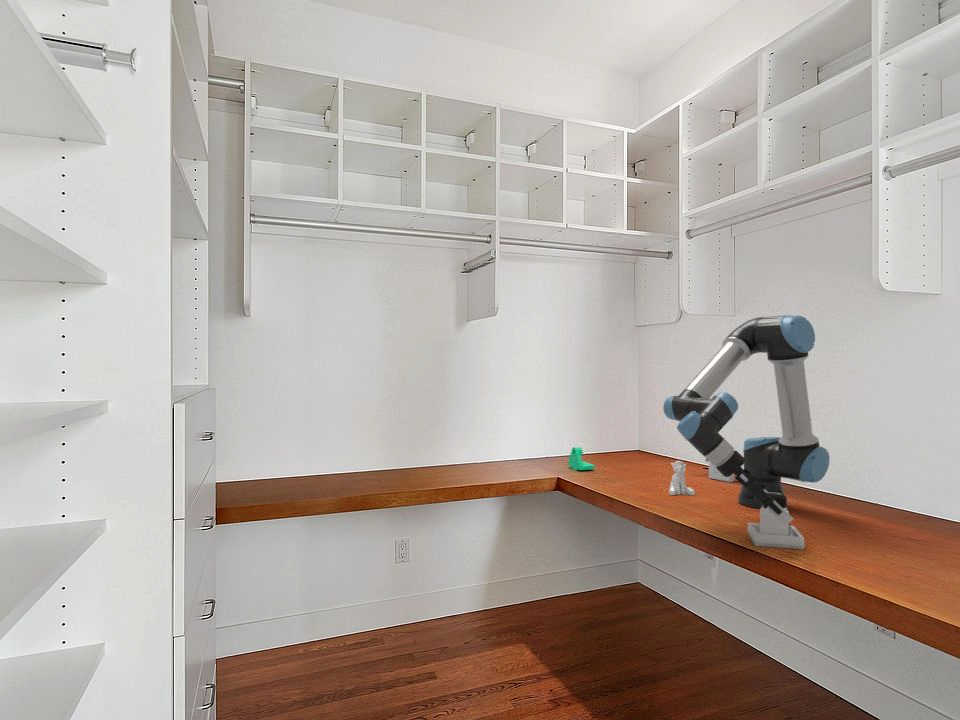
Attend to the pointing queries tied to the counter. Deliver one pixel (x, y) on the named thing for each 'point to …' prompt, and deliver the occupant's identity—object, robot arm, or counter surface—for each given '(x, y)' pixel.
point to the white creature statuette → (679, 481)
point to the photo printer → (718, 474)
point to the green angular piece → (578, 460)
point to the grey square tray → (776, 538)
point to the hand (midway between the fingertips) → (784, 515)
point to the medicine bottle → (774, 518)
